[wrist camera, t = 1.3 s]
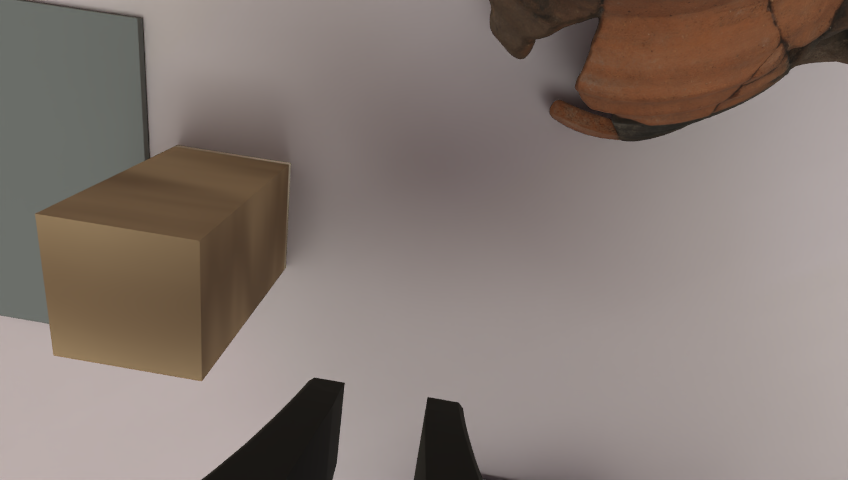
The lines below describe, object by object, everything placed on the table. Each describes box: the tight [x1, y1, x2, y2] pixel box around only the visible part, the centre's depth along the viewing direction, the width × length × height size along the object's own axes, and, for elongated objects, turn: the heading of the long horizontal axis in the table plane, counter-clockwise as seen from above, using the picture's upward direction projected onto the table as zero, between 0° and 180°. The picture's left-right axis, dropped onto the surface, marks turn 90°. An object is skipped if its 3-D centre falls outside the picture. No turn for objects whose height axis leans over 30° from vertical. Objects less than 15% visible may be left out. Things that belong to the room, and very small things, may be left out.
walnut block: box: [35, 145, 291, 381], centre depth 18 cm, size 4×4×7 cm
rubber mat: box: [0, 0, 149, 324], centre depth 21 cm, size 12×9×1 cm
